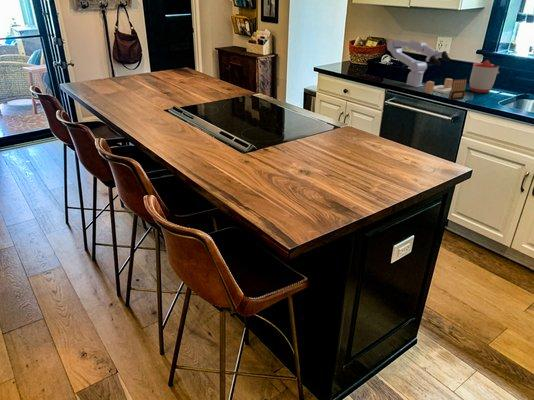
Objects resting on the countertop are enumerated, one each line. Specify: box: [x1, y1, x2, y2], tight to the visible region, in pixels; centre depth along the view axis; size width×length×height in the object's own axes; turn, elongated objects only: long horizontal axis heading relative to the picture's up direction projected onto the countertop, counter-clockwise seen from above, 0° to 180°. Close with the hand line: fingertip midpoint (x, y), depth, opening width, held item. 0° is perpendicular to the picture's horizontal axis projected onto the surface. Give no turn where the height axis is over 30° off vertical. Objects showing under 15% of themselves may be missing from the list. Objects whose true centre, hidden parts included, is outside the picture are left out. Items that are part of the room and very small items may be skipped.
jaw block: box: [424, 80, 435, 94], centre depth 273 cm, size 4×4×7 cm
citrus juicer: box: [469, 59, 500, 94], centre depth 277 cm, size 16×17×20 cm
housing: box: [433, 77, 454, 95], centre depth 279 cm, size 13×14×7 cm
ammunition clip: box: [448, 78, 467, 101], centre depth 258 cm, size 11×2×12 cm, turn 113°
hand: (444, 62), depth 267 cm, fingers open, 7 cm apart
